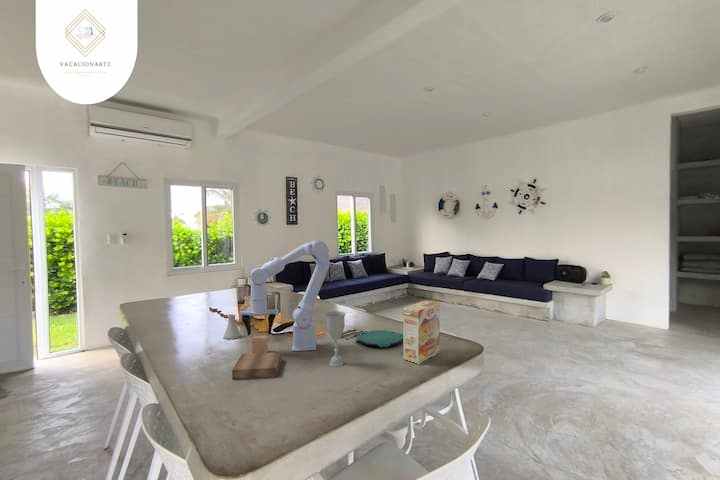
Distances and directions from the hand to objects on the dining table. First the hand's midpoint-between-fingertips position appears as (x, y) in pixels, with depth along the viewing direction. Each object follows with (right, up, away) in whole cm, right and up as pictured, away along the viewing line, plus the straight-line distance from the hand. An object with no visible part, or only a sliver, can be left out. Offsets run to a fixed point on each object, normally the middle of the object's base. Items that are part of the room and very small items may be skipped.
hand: (259, 334), depth 134 cm
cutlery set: (+44, -7, +16) cm, 47 cm away
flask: (-18, -7, +20) cm, 28 cm away
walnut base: (+4, -8, -14) cm, 17 cm away
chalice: (+30, -8, -10) cm, 33 cm away
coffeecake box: (+62, -7, -5) cm, 63 cm away
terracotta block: (0, -8, 0) cm, 8 cm away
